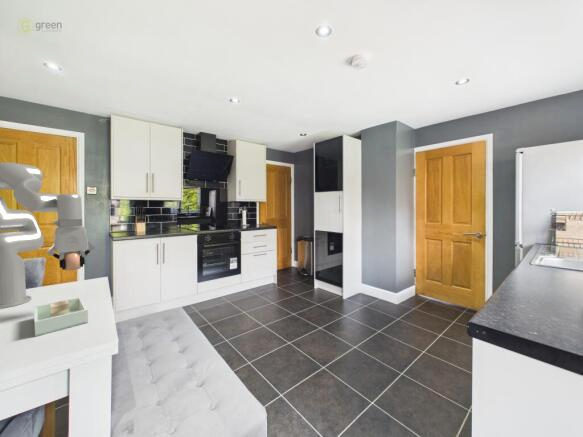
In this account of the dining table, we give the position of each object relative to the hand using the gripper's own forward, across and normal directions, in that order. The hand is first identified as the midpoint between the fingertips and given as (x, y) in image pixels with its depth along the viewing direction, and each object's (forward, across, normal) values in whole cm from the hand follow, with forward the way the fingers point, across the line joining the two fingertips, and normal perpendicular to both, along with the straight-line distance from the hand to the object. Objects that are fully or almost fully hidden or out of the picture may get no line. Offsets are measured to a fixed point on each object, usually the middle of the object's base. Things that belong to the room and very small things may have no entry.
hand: (72, 267), depth 101 cm
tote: (+18, -5, -9) cm, 21 cm away
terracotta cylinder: (+1, 0, 0) cm, 1 cm away
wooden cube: (+17, -5, -5) cm, 19 cm away
